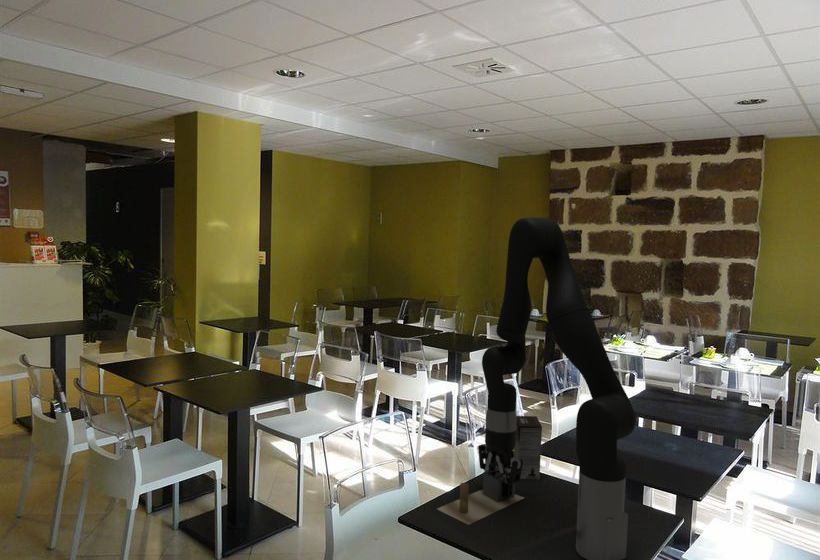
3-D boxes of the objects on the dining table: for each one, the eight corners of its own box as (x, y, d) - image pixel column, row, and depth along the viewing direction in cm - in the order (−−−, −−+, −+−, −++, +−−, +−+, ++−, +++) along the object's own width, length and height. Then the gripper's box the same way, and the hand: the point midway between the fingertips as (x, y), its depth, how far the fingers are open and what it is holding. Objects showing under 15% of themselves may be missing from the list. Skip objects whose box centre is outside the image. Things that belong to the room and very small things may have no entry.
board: (492, 490, 154) (493, 460, 153) (524, 503, 147) (525, 472, 146) (436, 515, 140) (437, 482, 139) (468, 531, 132) (469, 496, 132)
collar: (514, 497, 147) (515, 475, 146) (497, 502, 144) (498, 480, 143) (499, 488, 151) (499, 468, 151) (482, 493, 148) (483, 472, 148)
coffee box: (511, 470, 167) (513, 415, 166) (534, 471, 167) (536, 415, 166) (516, 484, 158) (518, 425, 157) (540, 485, 158) (543, 426, 157)
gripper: (533, 432, 142) (530, 500, 144) (492, 416, 154) (490, 479, 155) (510, 437, 138) (507, 507, 139) (470, 420, 150) (468, 485, 151)
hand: (498, 492), depth 147 cm, fingers closed on collar, 5 cm apart
